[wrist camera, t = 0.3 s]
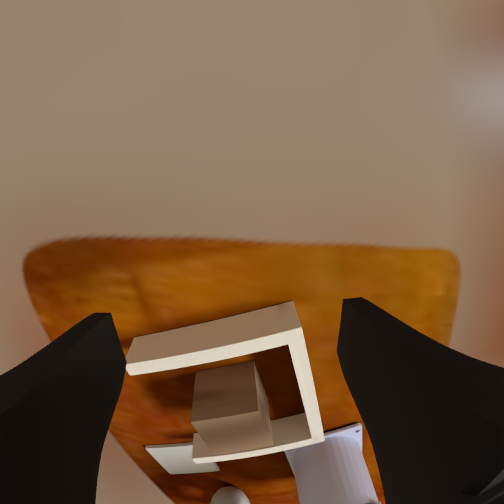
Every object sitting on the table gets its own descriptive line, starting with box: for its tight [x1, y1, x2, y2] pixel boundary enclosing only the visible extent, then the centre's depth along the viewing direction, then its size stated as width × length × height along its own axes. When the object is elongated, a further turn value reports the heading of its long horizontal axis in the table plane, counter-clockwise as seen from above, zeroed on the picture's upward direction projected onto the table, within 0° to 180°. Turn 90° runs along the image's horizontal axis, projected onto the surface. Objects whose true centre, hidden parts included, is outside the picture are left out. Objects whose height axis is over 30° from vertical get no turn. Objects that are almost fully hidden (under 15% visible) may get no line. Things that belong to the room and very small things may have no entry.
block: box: [191, 360, 274, 455], centre depth 21 cm, size 4×4×5 cm
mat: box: [145, 442, 220, 474], centre depth 27 cm, size 6×6×1 cm
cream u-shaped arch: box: [126, 301, 325, 464], centre depth 22 cm, size 13×12×3 cm
